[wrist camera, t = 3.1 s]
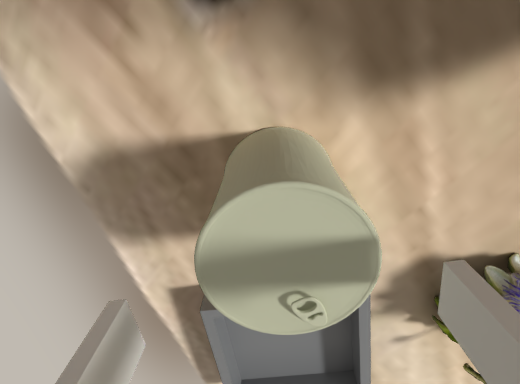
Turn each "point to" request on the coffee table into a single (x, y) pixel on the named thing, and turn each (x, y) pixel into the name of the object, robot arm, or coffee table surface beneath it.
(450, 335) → the passion flower
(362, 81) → the coffee table surface
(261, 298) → the can
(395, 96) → the coffee table surface
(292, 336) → the tray
